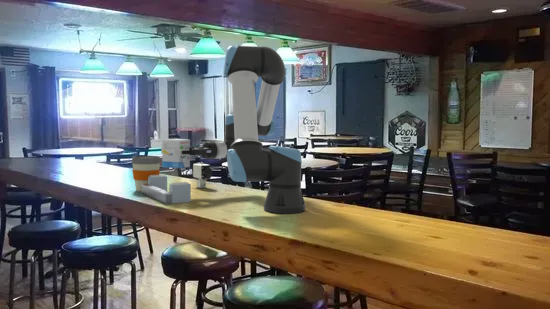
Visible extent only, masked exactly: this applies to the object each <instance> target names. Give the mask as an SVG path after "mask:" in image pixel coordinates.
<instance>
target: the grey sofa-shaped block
mask: <svg viewBox="0 0 550 309" xmlns="http://www.w3.org/2000/svg"><path fill="white" fill-rule="evenodd" d="M148 184H150V185H153V186H155V187H158V188H160V189H163V190H165V191H168V190H169V191H168V192H170V193H172V203H171V204H181V203H191V201H192V200H191V199H192V198H191V196H192V195H191V193H192V192H191V191H192V190H191V185H192V184H191V183H189V182H187V181H180V182H179V181H178V182H171V183H169V184H168V176H167V175H165V174H159V175H150V177H148ZM168 185H169V189H168Z"/></svg>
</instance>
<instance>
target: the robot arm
mask: <svg viewBox="0 0 550 309" xmlns="http://www.w3.org/2000/svg"><path fill="white" fill-rule="evenodd" d="M223 75H224V77H227V81H228V82H229V83H230V85H232V88H231V89H232V108H233V113H232V114H226V115H225V123H224V124H225V125H224V128H225V129H224V130H225V131H224V133H225V135H224V140H222V141H221V140H217V141H205V142H204V143H203V145H190V147H189V149H173V156H185V155H190V156H193V157H195V156H203V157H204V158H205V159H207V160H212V159H214V160H215V159H219V161H220V160H222V159H226V163H227V170H228V174H229V177H230V179H231V180H232V181H233V182H237V183H238V182H239V183H240V182H241V183H247V182H248V183H249V182H251V183H253V182H255V183H257V182H262V183H264V182H268V190H267V193H266V196H265V200H264V203H263V210H264V211H266V212H269V213H273V214H274V213H275V214H298V213H303V212H305V211H306V203H305V199H304V196H303V192H302V189H301V187H302V163H303V162H302V161H303V160H302V153H301V151H300V150H299V149H298V148H294V147H288V146H287V147H286V146H280V145H269V147H268V149H265V148H264V146H263V142H261V141H260V140H259V137H266V136H267V137H271V136H273V135H274V134H275V131H276V130H275V129H276V123H275V120H274V119H273V116H274V113H275V108H276V103H277V99H278V96H279V91H280V87H281V84H282V83H283V82H284V81H285V78H286V66H285V63H284V61H283V59H282V56H280V54H279V53H278V52H277V51H276V50H275V49H273V48H271V47H268V46H254V45H253V46H249V45H239V44H238V45H229V46H228V47H227V48H226V51H225V58H224V66H223ZM259 78H260V79H261V84H260V85H261V86H260V88H259V90H260V91H259V95H258V100H257V99H256V97H257V96H256V83H257V82H258V80H259ZM256 100H257V101H256ZM160 147H161V146H160ZM160 151H161V152H160V154H161V155H162V147H161V149H160ZM304 210H305V211H304ZM302 211H303V212H302Z"/></svg>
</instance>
